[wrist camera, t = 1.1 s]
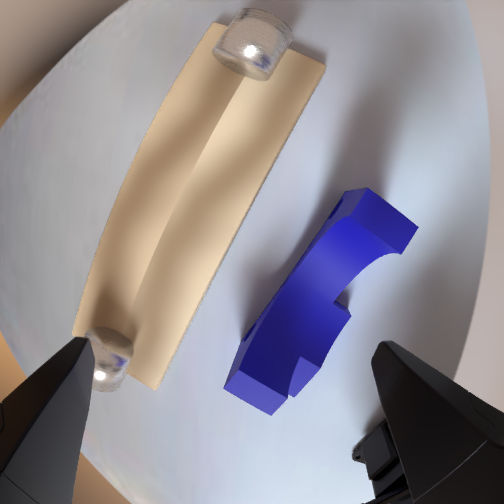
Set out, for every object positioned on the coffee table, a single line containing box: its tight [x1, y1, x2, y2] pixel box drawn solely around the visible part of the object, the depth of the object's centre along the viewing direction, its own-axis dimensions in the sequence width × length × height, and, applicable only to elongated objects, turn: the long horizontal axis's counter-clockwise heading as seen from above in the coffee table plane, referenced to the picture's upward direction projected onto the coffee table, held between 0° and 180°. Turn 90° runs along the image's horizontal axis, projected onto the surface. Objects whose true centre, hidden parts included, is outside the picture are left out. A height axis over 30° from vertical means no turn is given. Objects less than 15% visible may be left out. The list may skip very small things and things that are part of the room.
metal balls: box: [84, 8, 294, 392], centre depth 17 cm, size 4×25×4 cm, turn 152°
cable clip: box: [223, 188, 419, 415], centre depth 17 cm, size 12×4×6 cm, turn 147°
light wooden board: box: [72, 22, 326, 391], centre depth 19 cm, size 8×25×1 cm, turn 152°
